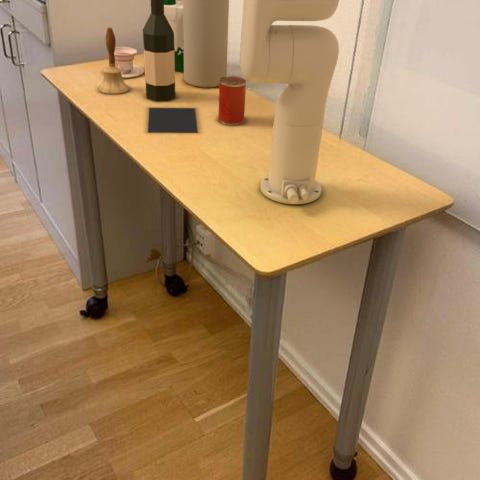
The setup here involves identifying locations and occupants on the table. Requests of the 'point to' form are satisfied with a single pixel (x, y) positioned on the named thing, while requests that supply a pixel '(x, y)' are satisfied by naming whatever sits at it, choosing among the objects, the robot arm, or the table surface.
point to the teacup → (126, 62)
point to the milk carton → (176, 30)
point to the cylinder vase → (205, 41)
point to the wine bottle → (159, 55)
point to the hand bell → (112, 70)
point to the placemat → (172, 120)
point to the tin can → (231, 100)
